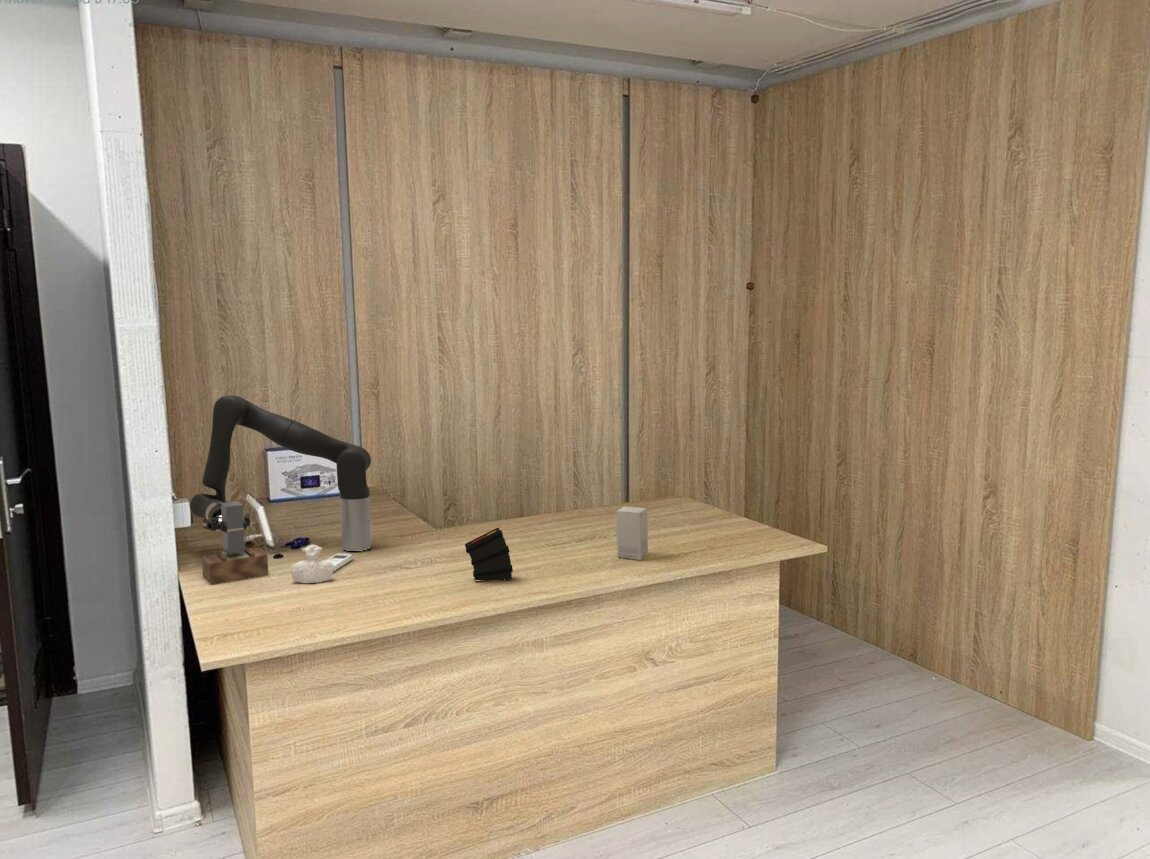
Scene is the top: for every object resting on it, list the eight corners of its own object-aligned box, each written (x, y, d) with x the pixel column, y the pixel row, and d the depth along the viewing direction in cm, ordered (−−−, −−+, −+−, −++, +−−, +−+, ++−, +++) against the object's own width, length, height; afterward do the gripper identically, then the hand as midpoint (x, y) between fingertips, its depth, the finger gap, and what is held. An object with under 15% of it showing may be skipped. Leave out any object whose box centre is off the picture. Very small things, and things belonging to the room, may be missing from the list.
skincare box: (648, 556, 278) (648, 507, 275) (641, 561, 272) (641, 512, 270) (623, 553, 281) (624, 505, 279) (615, 558, 275) (616, 509, 273)
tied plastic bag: (334, 586, 255) (335, 550, 260) (332, 577, 248) (333, 540, 254) (291, 589, 253) (293, 552, 258) (288, 579, 246) (290, 542, 252)
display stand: (258, 566, 267) (257, 544, 266) (268, 574, 259) (267, 551, 258) (203, 575, 258) (201, 552, 257) (210, 584, 250) (209, 560, 249)
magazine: (523, 574, 253) (500, 529, 250) (482, 595, 253) (458, 550, 250) (522, 570, 257) (499, 526, 254) (481, 591, 256) (458, 546, 253)
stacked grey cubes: (223, 549, 259) (220, 502, 257) (239, 547, 261) (236, 501, 259) (228, 554, 254) (225, 507, 252) (244, 551, 256) (242, 504, 254)
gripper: (195, 506, 263) (208, 518, 249) (244, 500, 271) (259, 511, 257) (196, 531, 264) (209, 544, 251) (245, 524, 272) (261, 536, 259)
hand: (235, 527), depth 254 cm, fingers closed on stacked grey cubes, 4 cm apart
